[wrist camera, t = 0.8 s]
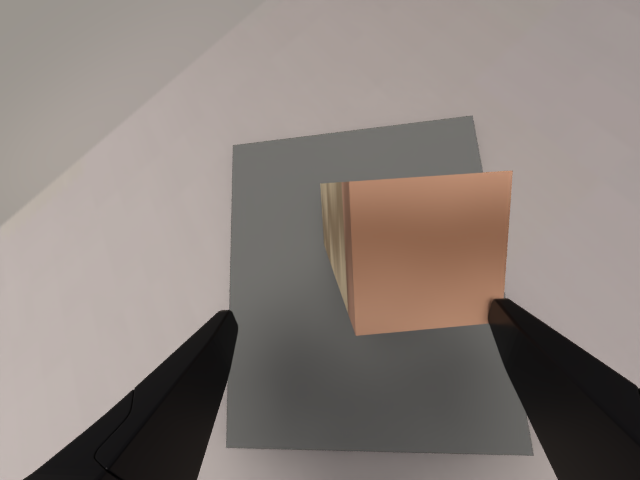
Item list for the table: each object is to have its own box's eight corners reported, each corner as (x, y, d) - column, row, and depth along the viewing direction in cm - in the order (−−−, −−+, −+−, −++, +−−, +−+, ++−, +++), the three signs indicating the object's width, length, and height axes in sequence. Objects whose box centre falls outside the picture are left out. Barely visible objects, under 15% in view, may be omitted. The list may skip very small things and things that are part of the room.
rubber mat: (528, 451, 19) (533, 455, 19) (229, 443, 22) (226, 447, 22) (470, 119, 25) (472, 115, 24) (235, 148, 28) (233, 145, 27)
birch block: (384, 240, 23) (502, 322, 9) (324, 245, 23) (355, 335, 9) (382, 179, 22) (512, 170, 8) (320, 183, 22) (348, 181, 8)
